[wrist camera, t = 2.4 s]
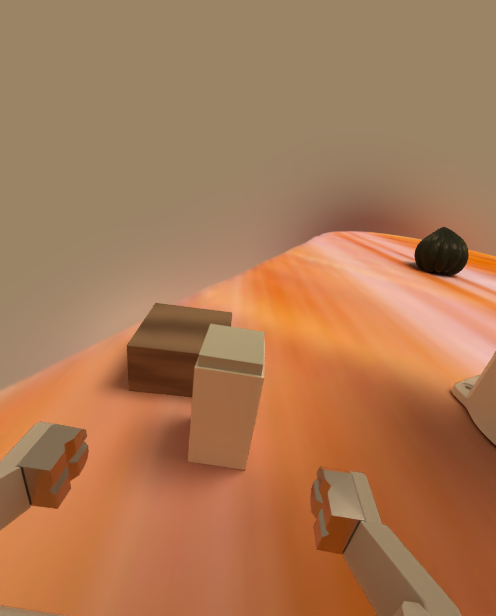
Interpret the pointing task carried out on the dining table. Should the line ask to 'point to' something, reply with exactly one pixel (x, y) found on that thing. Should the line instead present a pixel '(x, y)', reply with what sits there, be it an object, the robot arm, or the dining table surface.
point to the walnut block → (169, 348)
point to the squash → (442, 252)
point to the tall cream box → (226, 396)
